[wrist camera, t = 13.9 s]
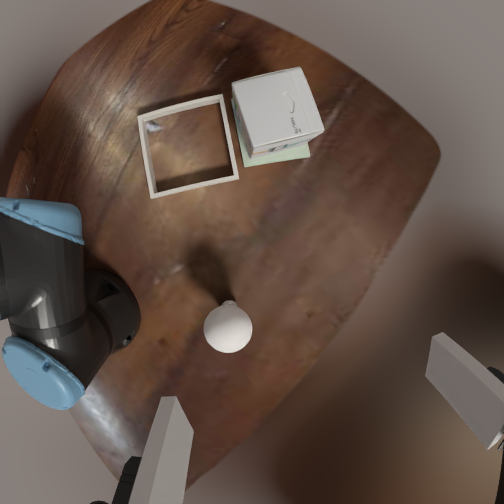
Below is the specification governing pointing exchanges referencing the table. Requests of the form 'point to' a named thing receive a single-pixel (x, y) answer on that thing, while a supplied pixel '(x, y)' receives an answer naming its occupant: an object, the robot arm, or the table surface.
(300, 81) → the ink box
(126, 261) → the table surface
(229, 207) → the table surface
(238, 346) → the light bulb
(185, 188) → the tray rim
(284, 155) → the mat
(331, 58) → the table surface
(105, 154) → the table surface
